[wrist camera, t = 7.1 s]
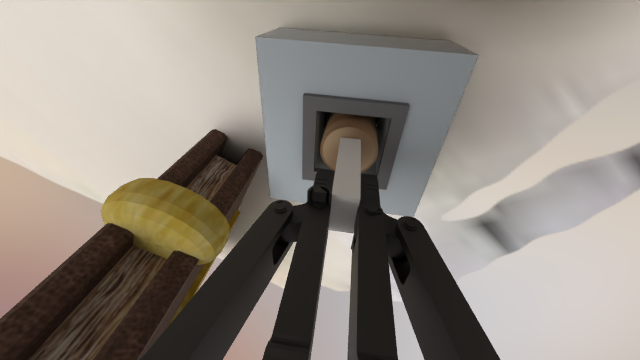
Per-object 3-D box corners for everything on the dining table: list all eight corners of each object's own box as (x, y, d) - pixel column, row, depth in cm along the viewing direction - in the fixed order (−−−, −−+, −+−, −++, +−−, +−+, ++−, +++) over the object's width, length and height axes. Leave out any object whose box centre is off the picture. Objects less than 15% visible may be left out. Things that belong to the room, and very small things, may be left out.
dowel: (327, 135, 25) (318, 171, 20) (330, 92, 23) (321, 121, 18) (370, 140, 25) (372, 178, 20) (378, 97, 22) (383, 128, 17)
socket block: (285, 165, 29) (268, 202, 24) (279, 27, 21) (252, 38, 16) (404, 179, 28) (414, 221, 23) (450, 40, 20) (482, 57, 14)
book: (229, 243, 40) (100, 483, 20) (178, 221, 39) (-17, 459, 19) (281, 141, 27) (69, 522, 8) (208, 102, 26) (-306, 455, 6)
